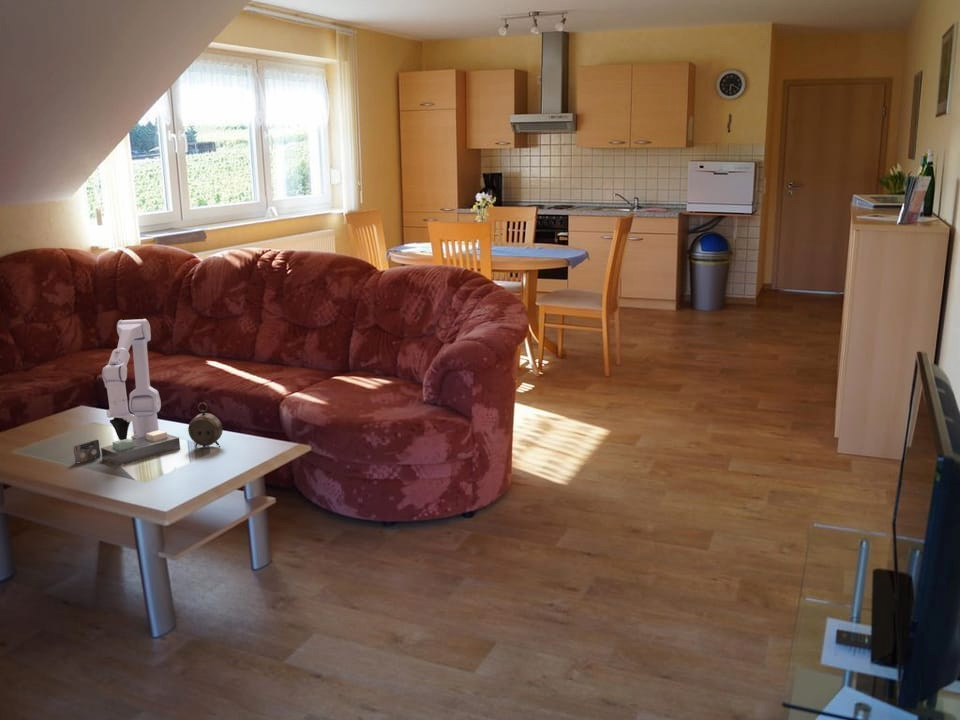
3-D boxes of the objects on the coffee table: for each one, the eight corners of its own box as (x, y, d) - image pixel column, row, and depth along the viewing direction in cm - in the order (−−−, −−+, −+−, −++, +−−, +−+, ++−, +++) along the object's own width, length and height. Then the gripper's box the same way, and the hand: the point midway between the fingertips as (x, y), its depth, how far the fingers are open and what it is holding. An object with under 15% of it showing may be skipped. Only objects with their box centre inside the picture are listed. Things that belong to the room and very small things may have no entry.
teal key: (113, 453, 292) (112, 442, 291) (127, 449, 295) (126, 438, 295) (121, 456, 289) (119, 444, 288) (135, 452, 292) (133, 440, 291)
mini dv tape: (98, 456, 297) (96, 439, 295) (100, 456, 296) (98, 439, 295) (75, 462, 290) (73, 445, 289) (77, 463, 289) (75, 446, 288)
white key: (147, 444, 301) (145, 433, 300) (160, 440, 304) (159, 429, 304) (154, 446, 297) (153, 435, 297) (167, 443, 301) (166, 432, 300)
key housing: (102, 459, 293) (100, 447, 292) (162, 442, 309) (161, 432, 308) (119, 465, 285) (118, 454, 284) (180, 448, 301) (179, 437, 300)
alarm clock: (224, 445, 303) (220, 400, 300) (218, 450, 298) (214, 404, 295) (194, 445, 304) (190, 400, 301) (188, 450, 299) (183, 404, 296)
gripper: (95, 399, 290) (100, 438, 293) (117, 405, 281) (122, 445, 283) (116, 395, 295) (120, 433, 298) (137, 401, 286) (142, 440, 289)
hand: (122, 439), depth 291 cm, fingers closed
